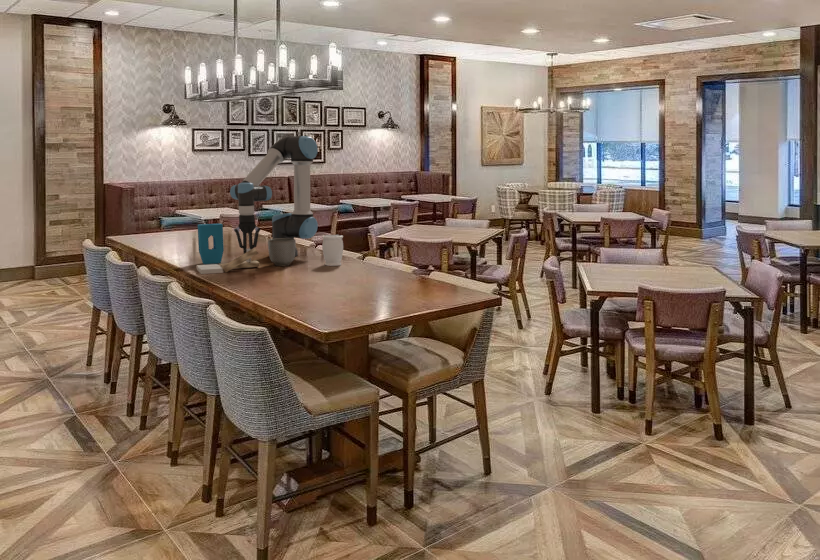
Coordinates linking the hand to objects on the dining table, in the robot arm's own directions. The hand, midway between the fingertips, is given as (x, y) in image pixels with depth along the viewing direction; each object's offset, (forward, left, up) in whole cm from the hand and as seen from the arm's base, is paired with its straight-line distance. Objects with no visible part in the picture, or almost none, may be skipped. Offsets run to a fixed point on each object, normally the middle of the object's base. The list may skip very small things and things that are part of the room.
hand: (248, 261), depth 380 cm
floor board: (+20, +4, -3) cm, 20 cm away
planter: (-17, -1, -3) cm, 18 cm away
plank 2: (+4, 0, -2) cm, 5 cm away
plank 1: (+5, +8, +1) cm, 10 cm away
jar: (-41, +8, -3) cm, 42 cm away
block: (+15, -21, -3) cm, 26 cm away
